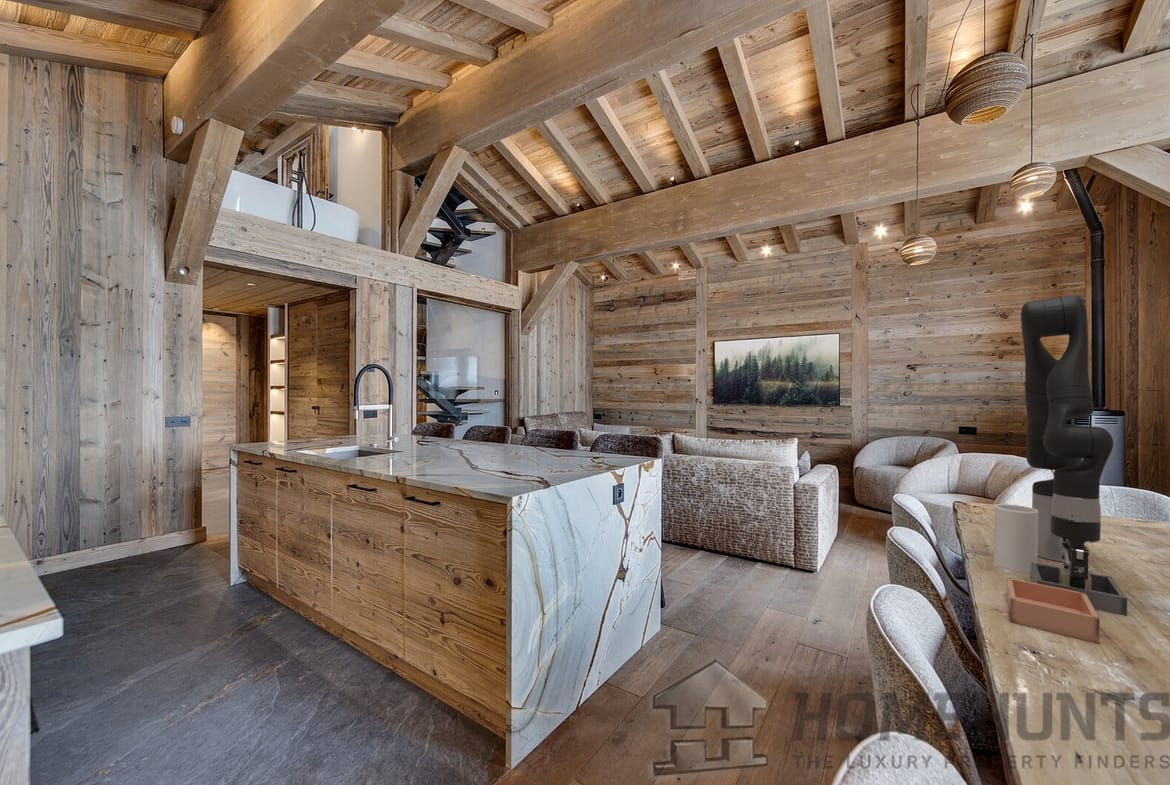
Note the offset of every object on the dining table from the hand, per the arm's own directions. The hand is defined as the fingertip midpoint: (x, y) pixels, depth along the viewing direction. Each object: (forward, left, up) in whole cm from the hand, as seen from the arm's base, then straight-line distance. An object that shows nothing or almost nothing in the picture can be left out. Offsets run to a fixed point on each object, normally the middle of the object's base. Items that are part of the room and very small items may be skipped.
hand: (1073, 589), depth 103 cm
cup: (-14, -9, -3) cm, 17 cm away
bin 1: (+16, -5, -2) cm, 17 cm away
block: (0, 0, -1) cm, 1 cm away
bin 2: (0, 0, -2) cm, 2 cm away
